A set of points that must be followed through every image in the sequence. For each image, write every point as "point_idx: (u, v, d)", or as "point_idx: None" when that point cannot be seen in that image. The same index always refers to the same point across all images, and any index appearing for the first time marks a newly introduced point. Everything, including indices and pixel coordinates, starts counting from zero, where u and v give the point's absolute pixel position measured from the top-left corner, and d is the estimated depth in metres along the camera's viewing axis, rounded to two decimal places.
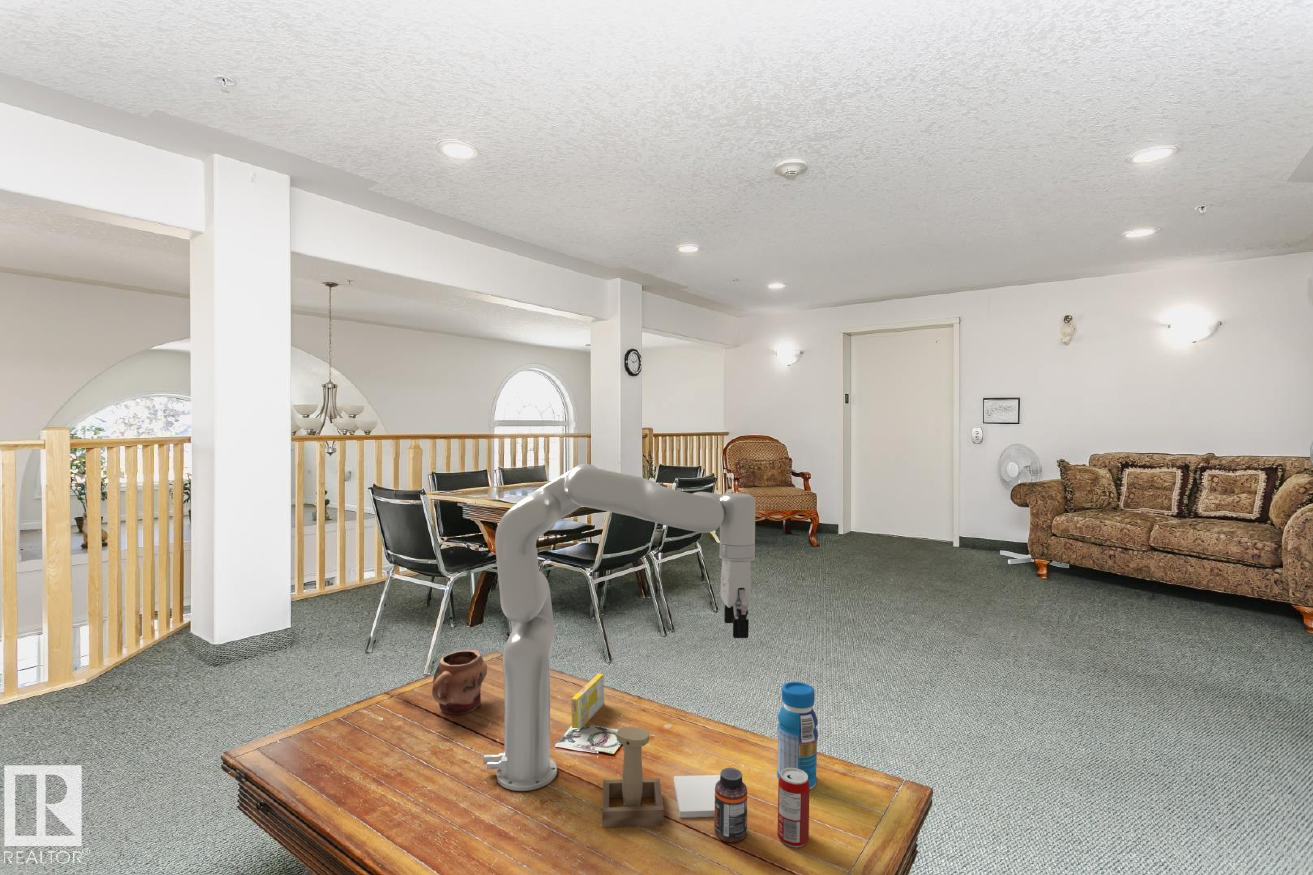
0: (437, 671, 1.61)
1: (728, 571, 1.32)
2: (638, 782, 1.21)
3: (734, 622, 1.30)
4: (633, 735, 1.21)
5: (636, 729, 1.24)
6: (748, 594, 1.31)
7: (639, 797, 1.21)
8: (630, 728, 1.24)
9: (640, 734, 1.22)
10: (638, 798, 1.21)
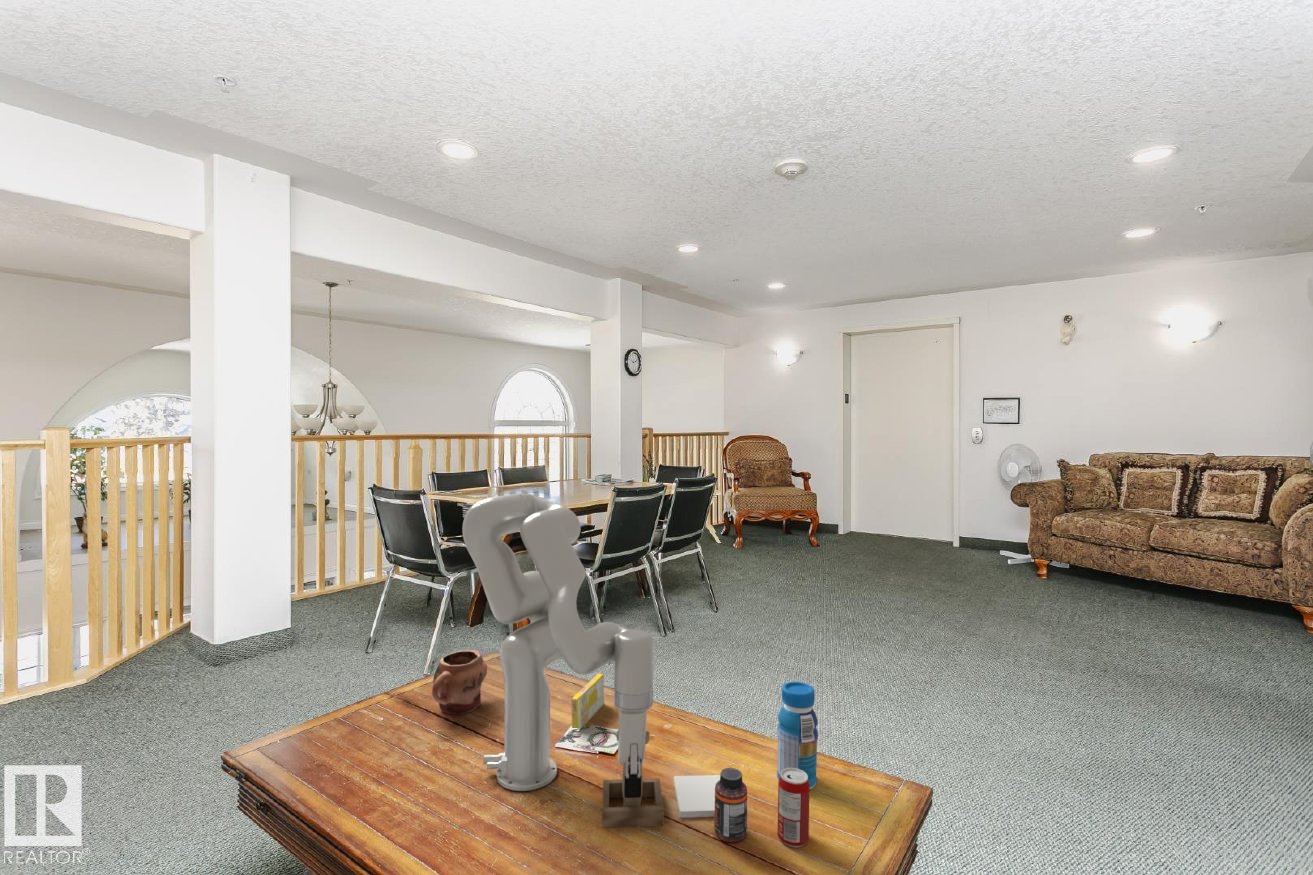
0: (437, 671, 1.61)
1: (620, 723, 1.18)
2: None
3: (625, 780, 1.20)
4: None
5: None
6: (641, 750, 1.17)
7: None
8: None
9: None
10: (638, 798, 1.21)
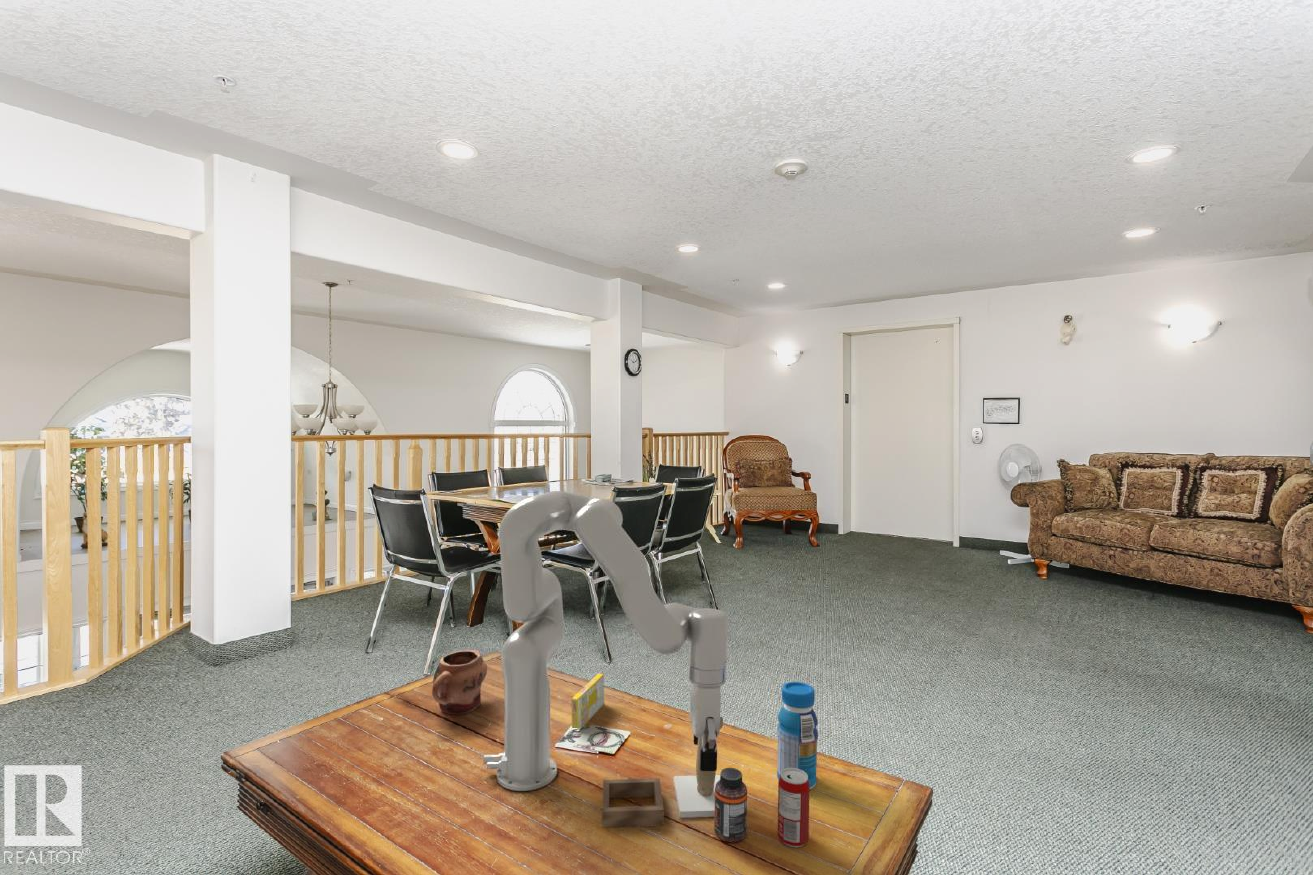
0: (437, 671, 1.61)
1: (696, 697, 1.22)
2: None
3: (701, 754, 1.21)
4: None
5: None
6: (717, 724, 1.21)
7: (713, 780, 1.25)
8: None
9: None
10: (712, 781, 1.25)
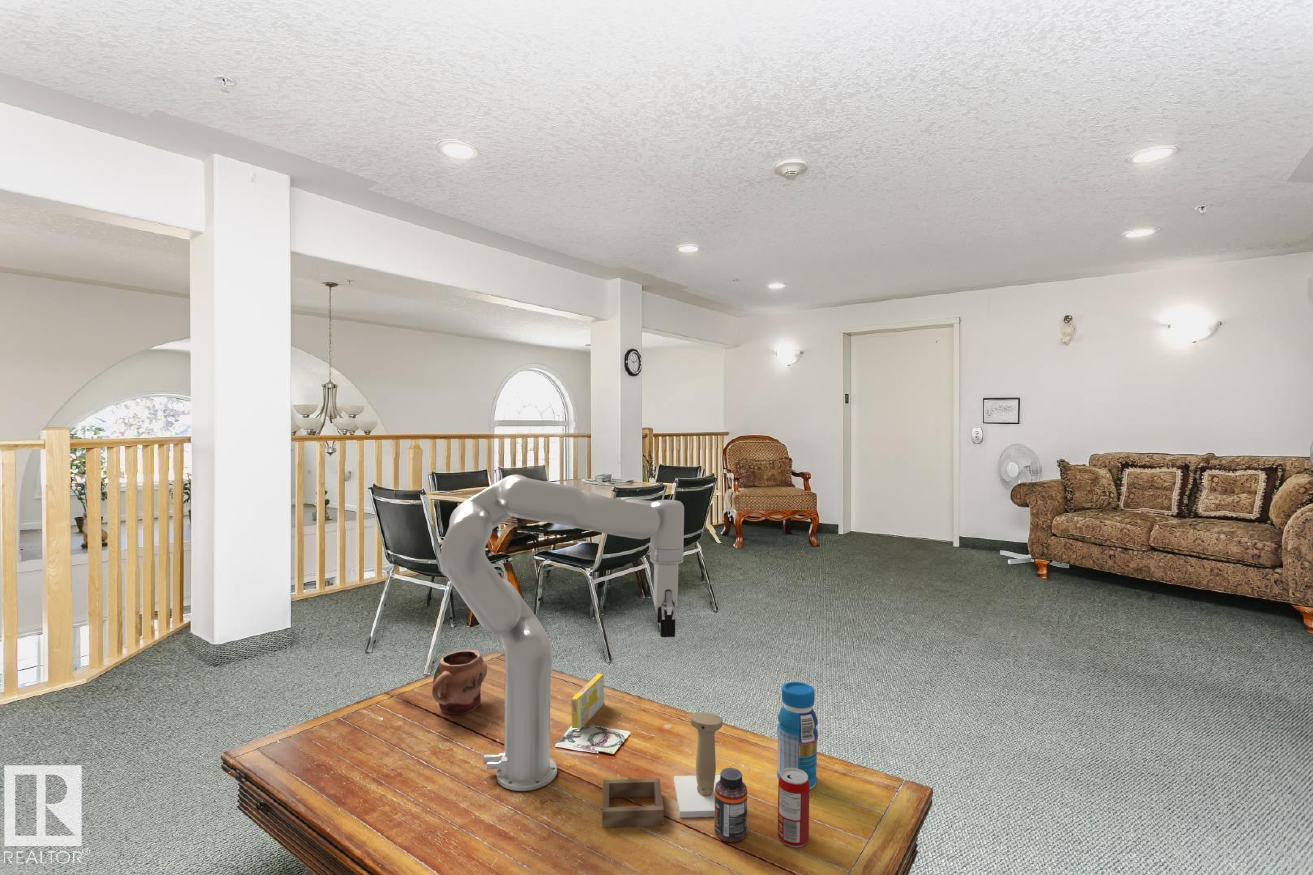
0: (437, 671, 1.61)
1: (656, 573, 1.39)
2: (712, 766, 1.25)
3: (661, 622, 1.38)
4: (707, 720, 1.25)
5: (709, 714, 1.28)
6: (675, 595, 1.38)
7: (713, 780, 1.25)
8: (702, 713, 1.28)
9: (714, 719, 1.26)
10: (712, 781, 1.25)
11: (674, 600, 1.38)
